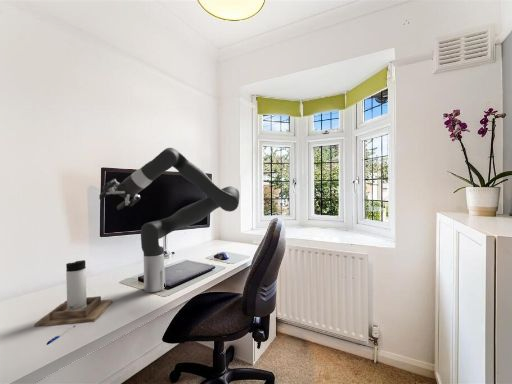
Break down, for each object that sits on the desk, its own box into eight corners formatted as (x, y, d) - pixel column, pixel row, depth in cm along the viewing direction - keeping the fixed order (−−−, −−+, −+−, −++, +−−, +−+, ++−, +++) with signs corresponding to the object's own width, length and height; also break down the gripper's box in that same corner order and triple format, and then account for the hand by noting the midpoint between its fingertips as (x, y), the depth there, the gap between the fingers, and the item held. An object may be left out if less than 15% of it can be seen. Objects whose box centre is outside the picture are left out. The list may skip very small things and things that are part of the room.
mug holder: (112, 301, 108) (112, 293, 108) (95, 321, 92) (94, 311, 92) (61, 305, 105) (61, 297, 105) (34, 326, 89) (34, 317, 89)
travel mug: (71, 316, 94) (70, 264, 94) (64, 311, 97) (63, 261, 97) (89, 309, 99) (88, 260, 99) (82, 305, 103) (81, 257, 102)
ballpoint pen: (48, 345, 78) (48, 342, 78) (46, 345, 78) (45, 342, 78) (75, 326, 89) (75, 324, 89) (73, 326, 89) (73, 324, 89)
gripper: (125, 176, 96) (93, 200, 96) (152, 194, 106) (123, 216, 107) (124, 165, 101) (94, 189, 101) (150, 184, 111) (122, 205, 112)
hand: (109, 203), depth 104 cm, fingers open, 8 cm apart
